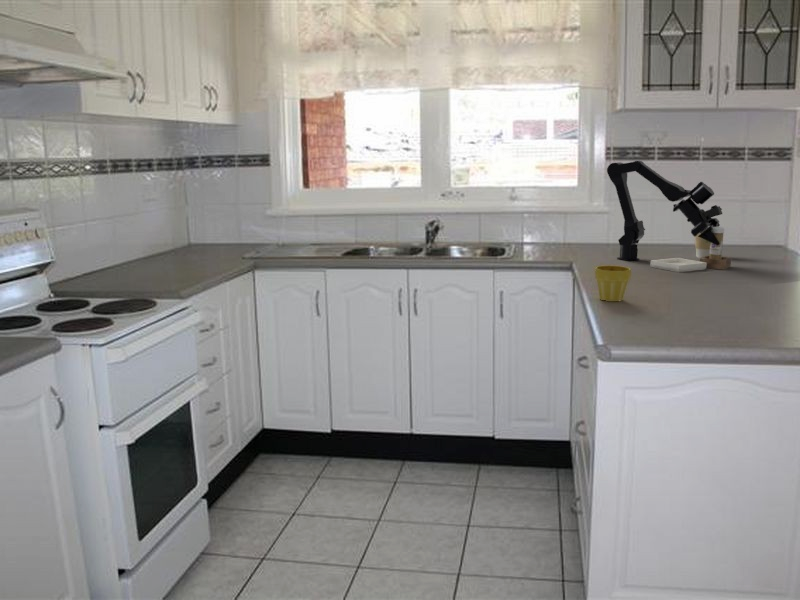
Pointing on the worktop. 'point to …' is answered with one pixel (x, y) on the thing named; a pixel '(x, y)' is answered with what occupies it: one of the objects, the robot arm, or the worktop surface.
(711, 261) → the walnut holder
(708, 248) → the coffee cup
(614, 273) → the plant pot
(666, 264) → the cream tray
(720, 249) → the sprinkles bottle
